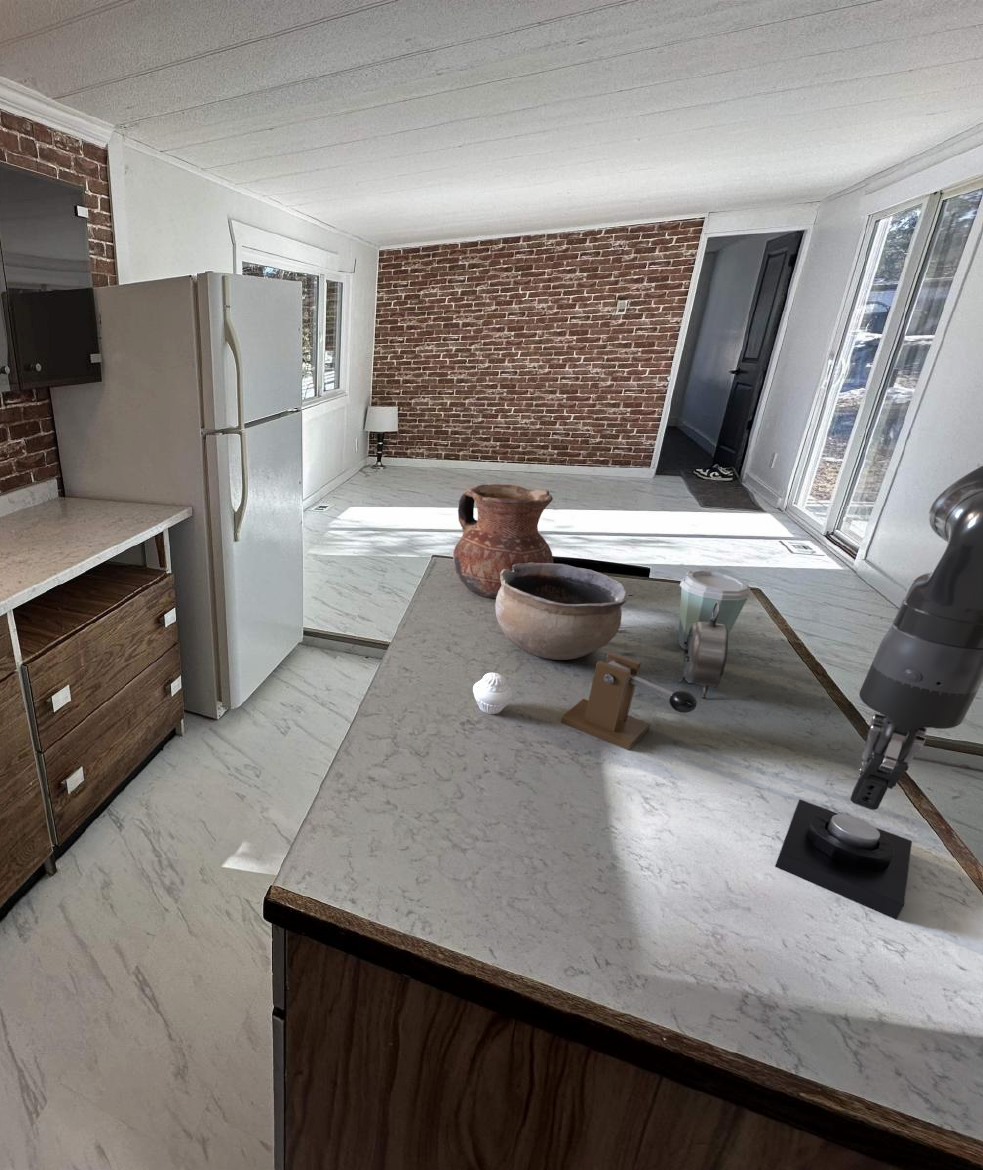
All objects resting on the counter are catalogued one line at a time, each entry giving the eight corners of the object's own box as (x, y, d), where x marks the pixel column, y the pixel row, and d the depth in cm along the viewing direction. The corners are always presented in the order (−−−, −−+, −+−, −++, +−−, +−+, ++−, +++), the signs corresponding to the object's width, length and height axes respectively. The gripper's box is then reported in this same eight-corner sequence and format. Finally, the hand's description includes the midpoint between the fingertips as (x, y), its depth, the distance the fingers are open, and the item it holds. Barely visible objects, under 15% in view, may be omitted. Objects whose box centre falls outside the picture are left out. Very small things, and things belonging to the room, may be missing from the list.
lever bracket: (648, 729, 99) (666, 665, 95) (628, 750, 95) (646, 683, 90) (582, 704, 107) (595, 643, 102) (560, 722, 102) (573, 659, 98)
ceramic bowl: (492, 619, 139) (501, 555, 133) (606, 634, 129) (621, 567, 124) (487, 665, 120) (497, 593, 115) (619, 686, 111) (637, 610, 105)
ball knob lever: (694, 711, 91) (703, 694, 90) (687, 720, 90) (696, 702, 88) (607, 673, 100) (614, 656, 98) (599, 680, 98) (606, 663, 96)
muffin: (488, 696, 110) (493, 661, 108) (517, 713, 105) (523, 677, 103) (462, 705, 108) (467, 670, 105) (491, 723, 103) (497, 687, 100)
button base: (794, 812, 82) (803, 787, 80) (905, 854, 75) (917, 829, 73) (774, 866, 74) (785, 840, 72) (896, 920, 67) (910, 892, 65)
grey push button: (829, 820, 76) (834, 808, 75) (876, 838, 73) (881, 826, 72) (824, 837, 73) (829, 826, 72) (872, 856, 70) (878, 844, 70)
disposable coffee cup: (741, 649, 121) (763, 578, 115) (719, 667, 116) (742, 593, 110) (678, 631, 129) (696, 563, 124) (655, 646, 124) (673, 577, 118)
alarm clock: (715, 704, 105) (742, 617, 99) (676, 696, 108) (700, 611, 101) (710, 675, 113) (735, 593, 107) (674, 668, 116) (695, 588, 110)
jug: (545, 579, 158) (561, 482, 148) (550, 612, 140) (569, 504, 131) (452, 570, 167) (462, 478, 157) (446, 600, 149) (457, 498, 140)
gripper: (980, 711, 58) (907, 852, 65) (980, 662, 66) (914, 792, 72) (867, 681, 63) (809, 814, 70) (879, 639, 71) (826, 762, 78)
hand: (863, 803), depth 71 cm, fingers closed
